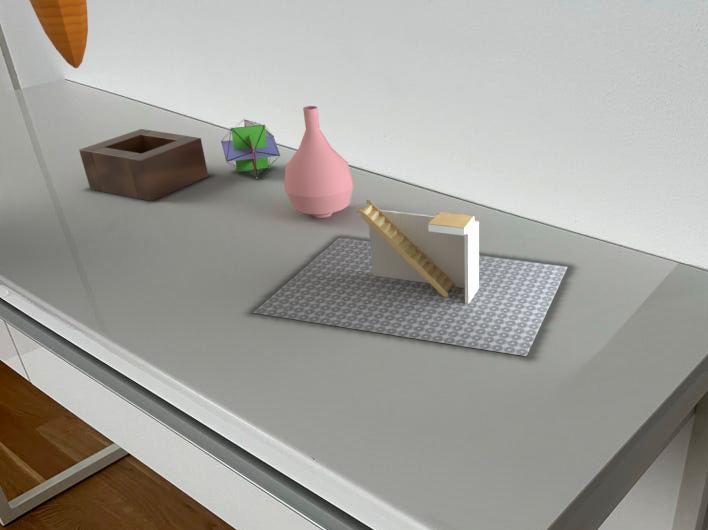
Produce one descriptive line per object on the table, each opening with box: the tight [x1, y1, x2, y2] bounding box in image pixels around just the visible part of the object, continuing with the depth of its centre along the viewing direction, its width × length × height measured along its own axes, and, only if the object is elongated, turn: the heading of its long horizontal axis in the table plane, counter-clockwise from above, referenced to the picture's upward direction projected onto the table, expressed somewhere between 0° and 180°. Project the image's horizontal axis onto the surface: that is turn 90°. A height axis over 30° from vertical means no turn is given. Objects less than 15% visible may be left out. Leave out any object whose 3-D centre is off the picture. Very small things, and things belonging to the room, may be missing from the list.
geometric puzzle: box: [220, 118, 282, 179], centre depth 97 cm, size 7×7×8 cm
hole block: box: [78, 128, 209, 202], centre depth 94 cm, size 10×10×5 cm
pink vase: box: [284, 105, 355, 219], centre depth 83 cm, size 8×8×12 cm
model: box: [356, 199, 481, 304], centre depth 69 cm, size 3×11×8 cm, turn 74°
